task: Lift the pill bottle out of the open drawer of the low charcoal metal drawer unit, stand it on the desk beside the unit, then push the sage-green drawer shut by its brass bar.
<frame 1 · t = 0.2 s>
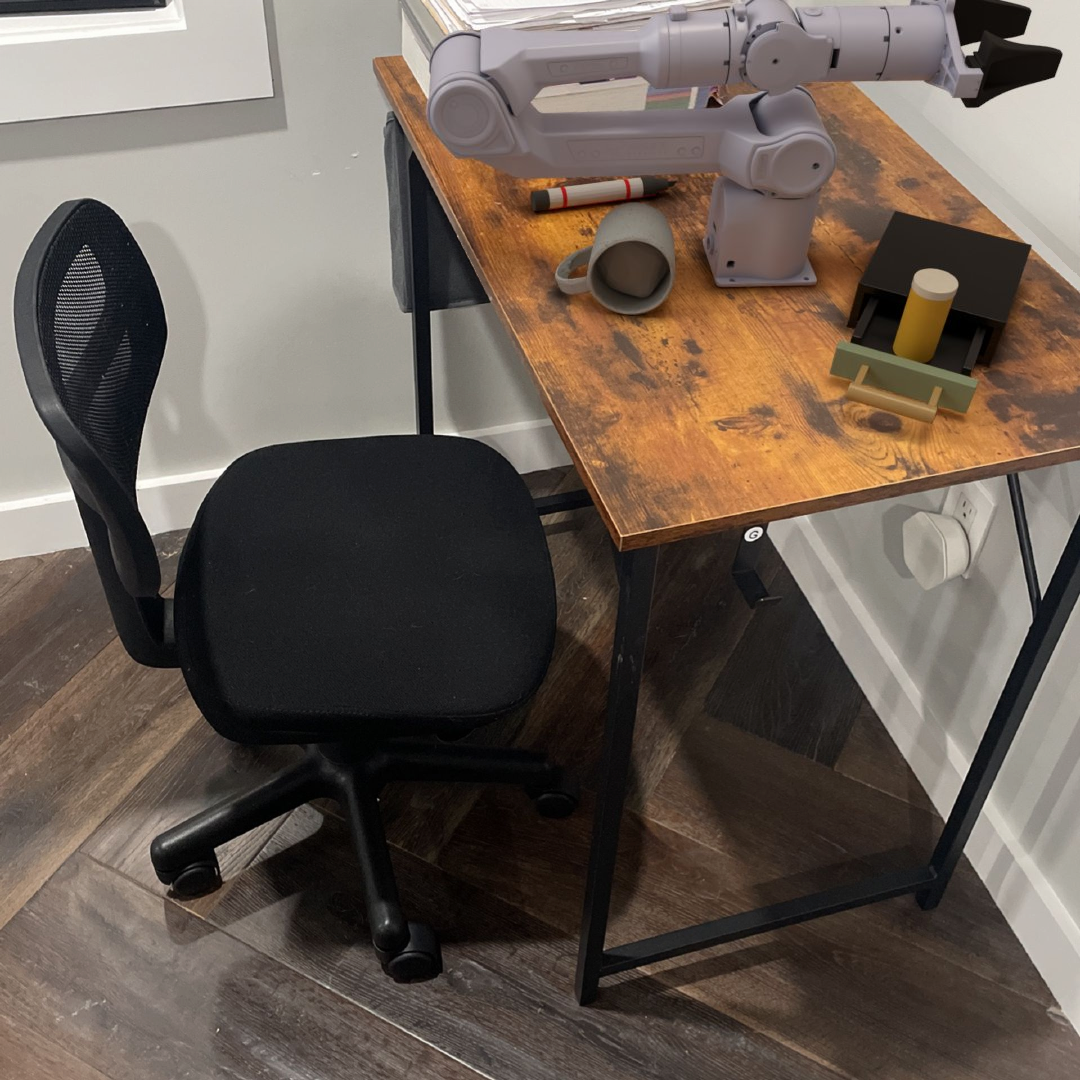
hand: (1041, 42, 94), 21 cm above the table, tool horizontal, fingers open, 7 cm apart
ceramic mug: (614, 293, 105), on the table
marker: (604, 202, 116), on the table
drawer: (912, 353, 95), point 2 cm above the table, slide at 7.5 cm, touching pill bottle
pill bottle: (913, 351, 96), point 2 cm above the table, touching drawer
cabinet: (933, 306, 104), on the table
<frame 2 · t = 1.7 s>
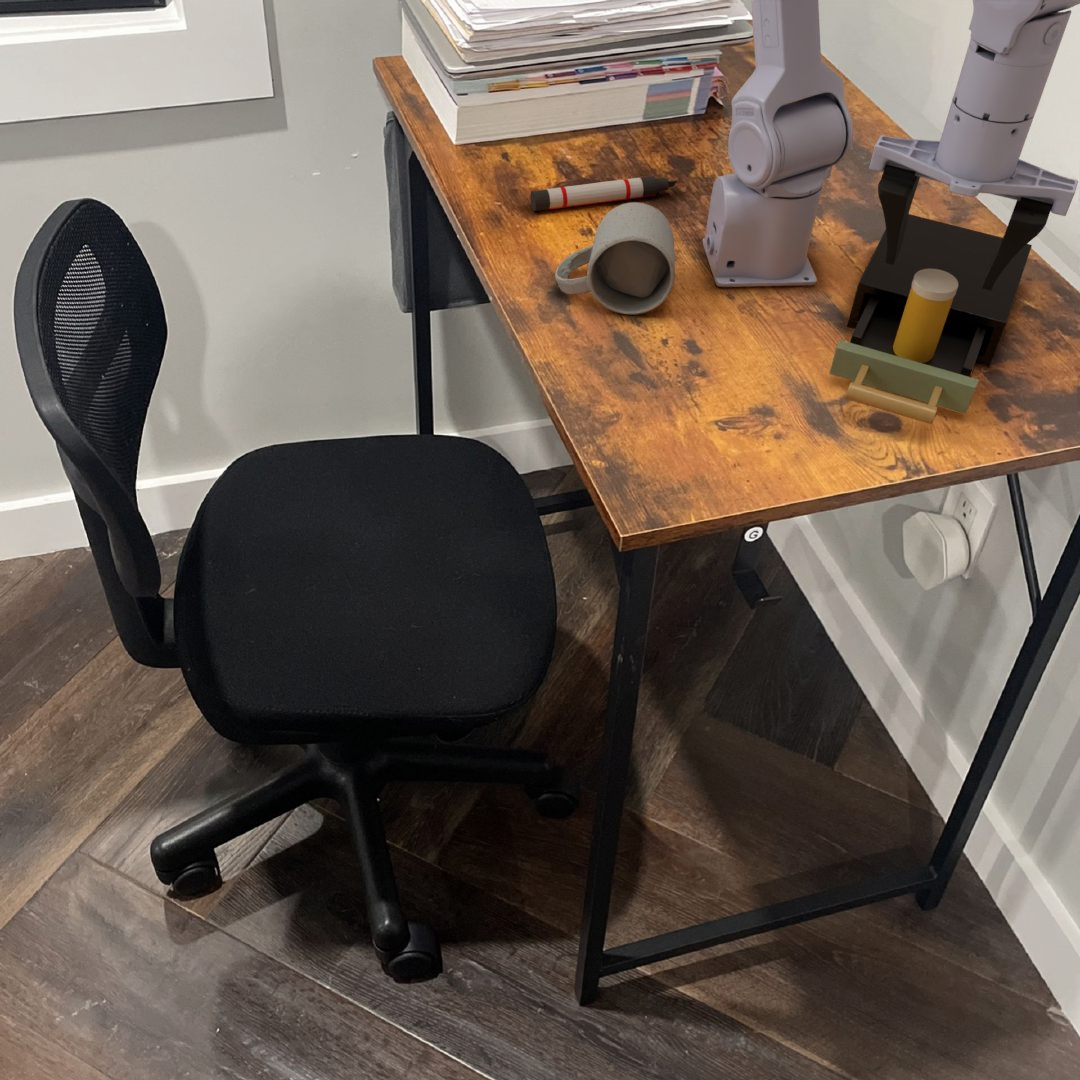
hand: (939, 270, 90), 10 cm above the table, tool pointing down, fingers open, 7 cm apart
nothing on the table moved.
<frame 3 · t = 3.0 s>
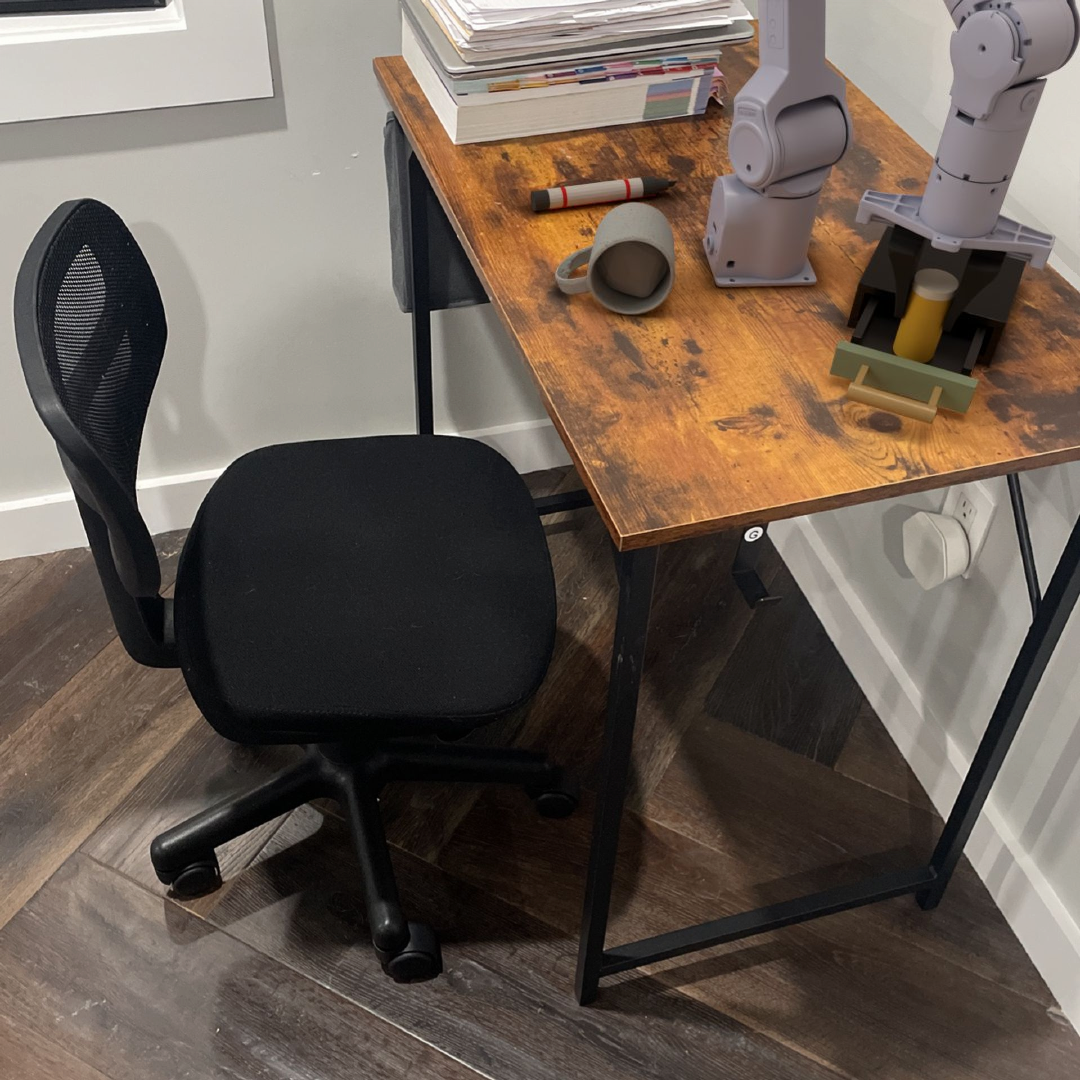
hand: (923, 317, 94), 5 cm above the table, tool pointing down, fingers closed on pill bottle, 3 cm apart
pill bottle: (913, 351, 96), point 2 cm above the table, touching drawer, gripper
everything else where it was.
when the fingers open (3 cm above the table, at t = 7.3 s): pill bottle stays where it is, on the table.
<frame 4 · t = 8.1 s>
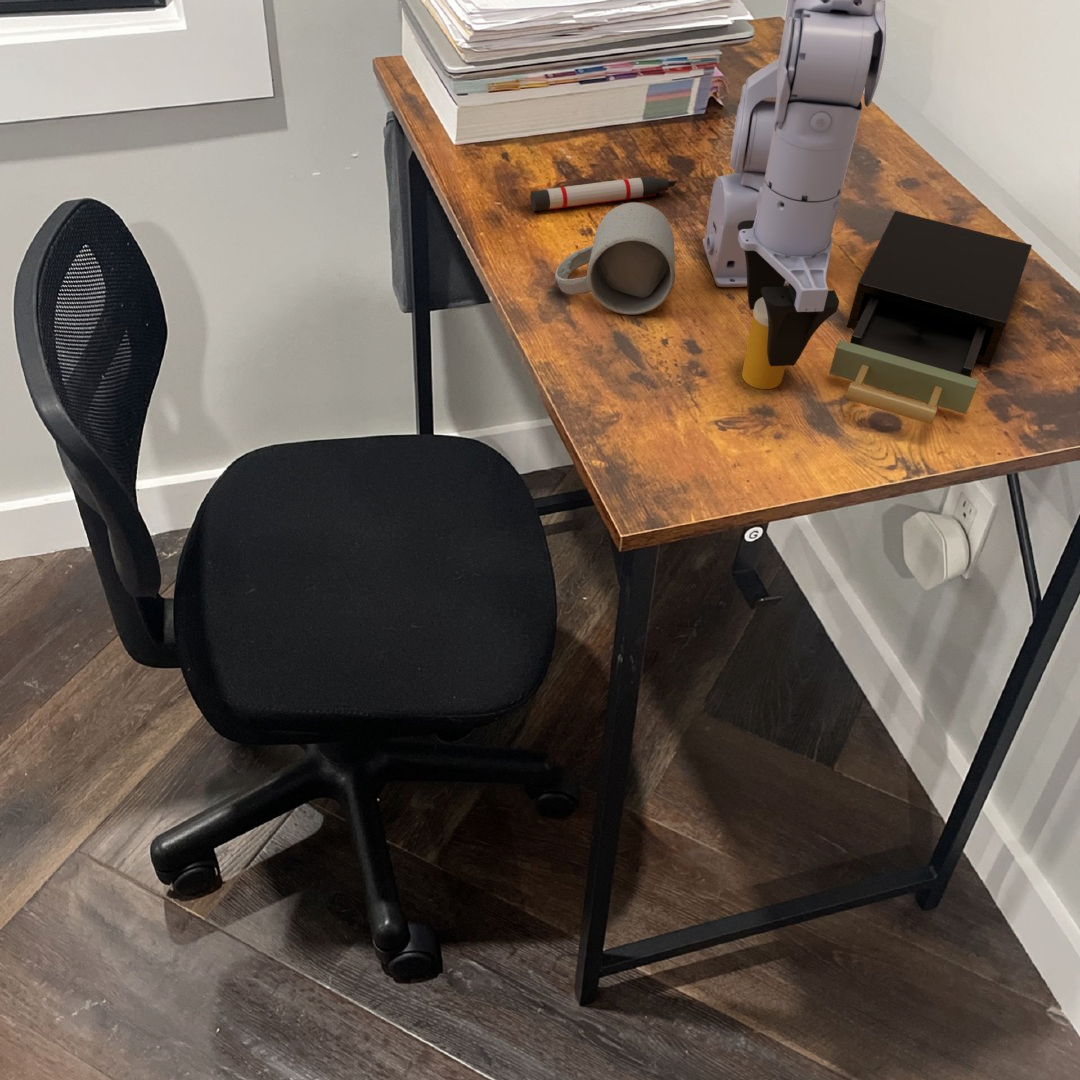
hand: (771, 334, 93), 4 cm above the table, tool pointing down, fingers open, 7 cm apart
drawer: (912, 353, 95), point 2 cm above the table, slide at 7.5 cm
pill bottle: (761, 376, 96), on the table
everything else where it was.
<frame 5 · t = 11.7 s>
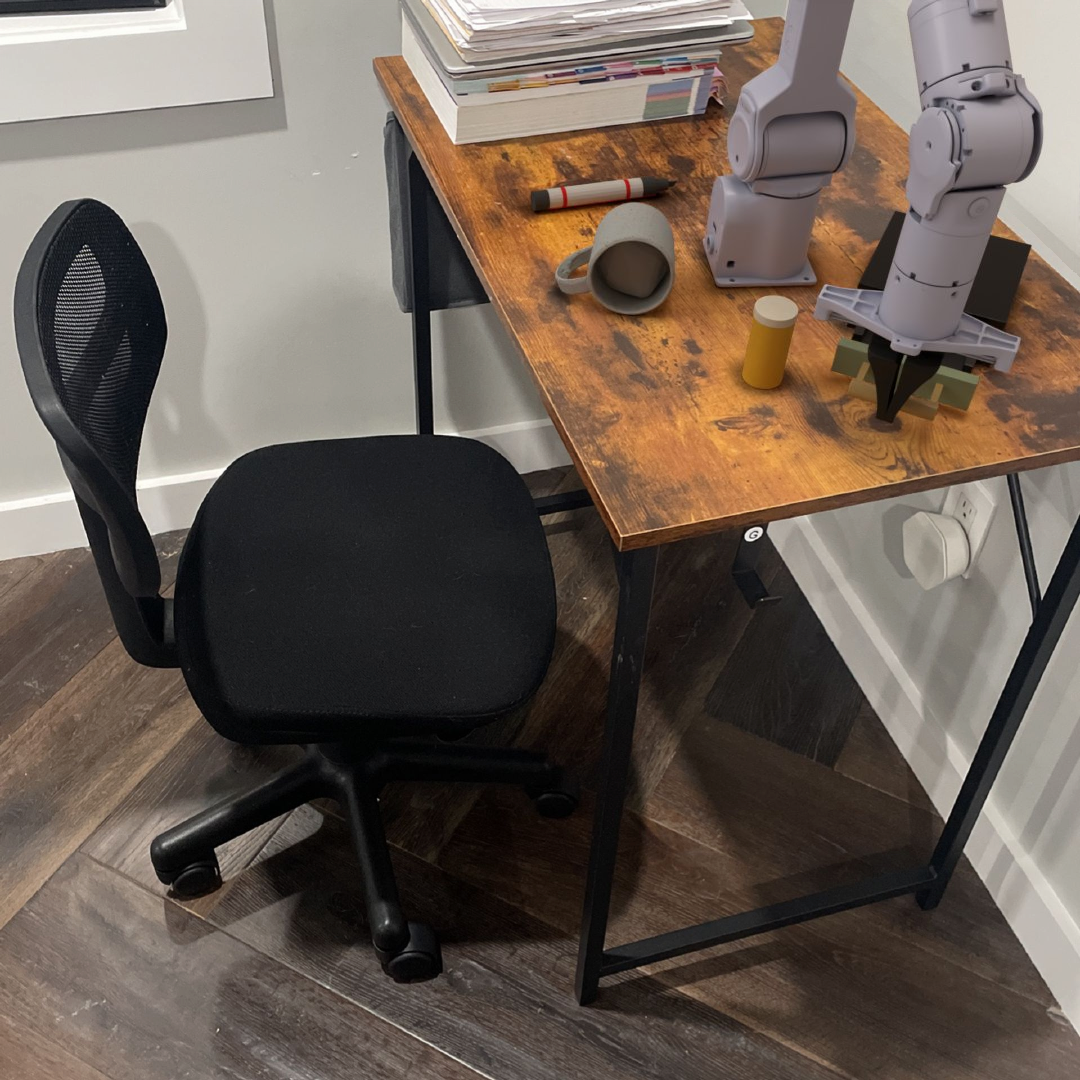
hand: (886, 414, 90), 2 cm above the table, tool pointing down, fingers closed
drawer: (913, 350, 96), point 2 cm above the table, slide at 7.0 cm
everything else where it was.
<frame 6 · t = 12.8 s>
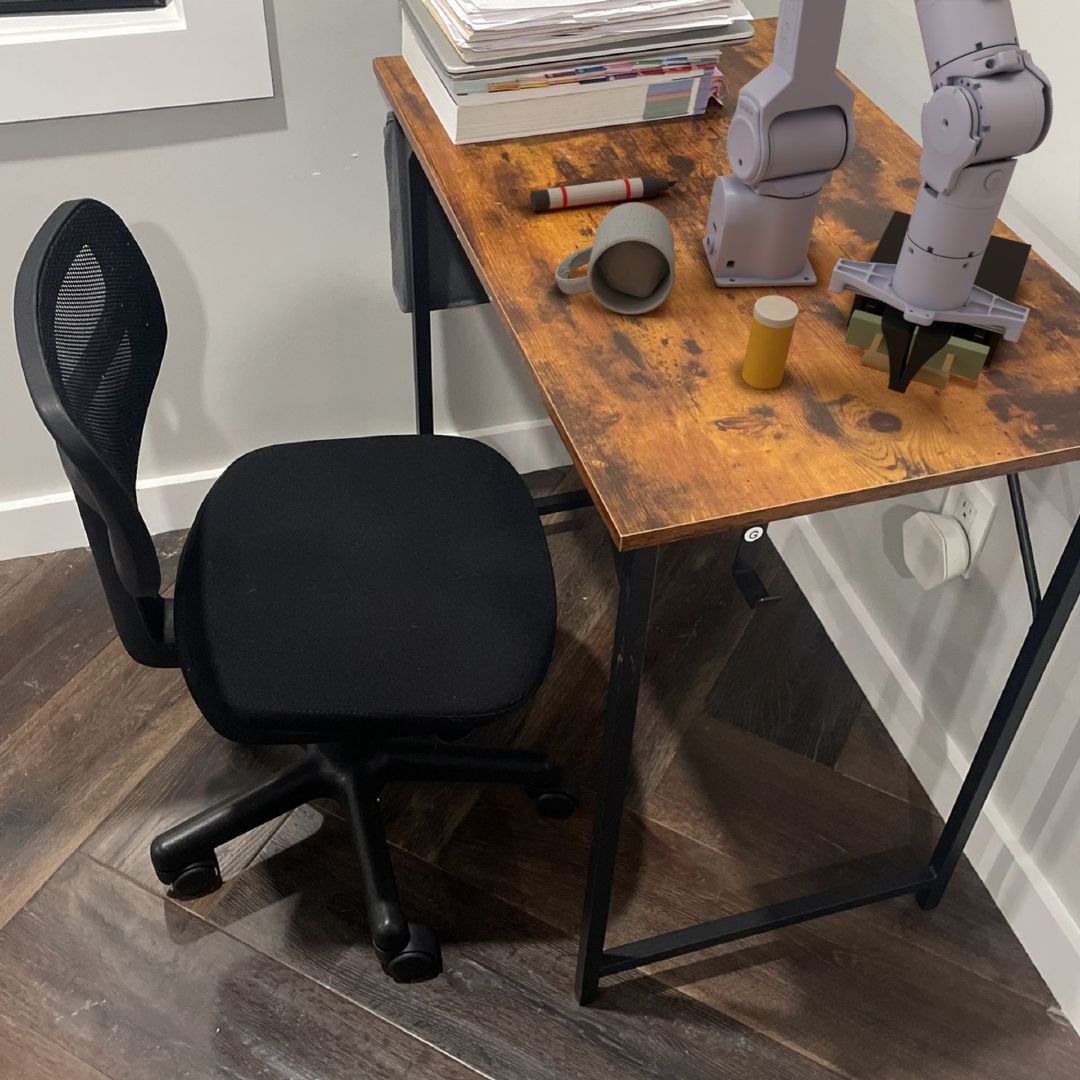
hand: (898, 384, 93), 2 cm above the table, tool pointing down, fingers closed, pressing on drawer
drawer: (924, 322, 98), point 2 cm above the table, slide at 2.6 cm, touching gripper
everything else where it was.
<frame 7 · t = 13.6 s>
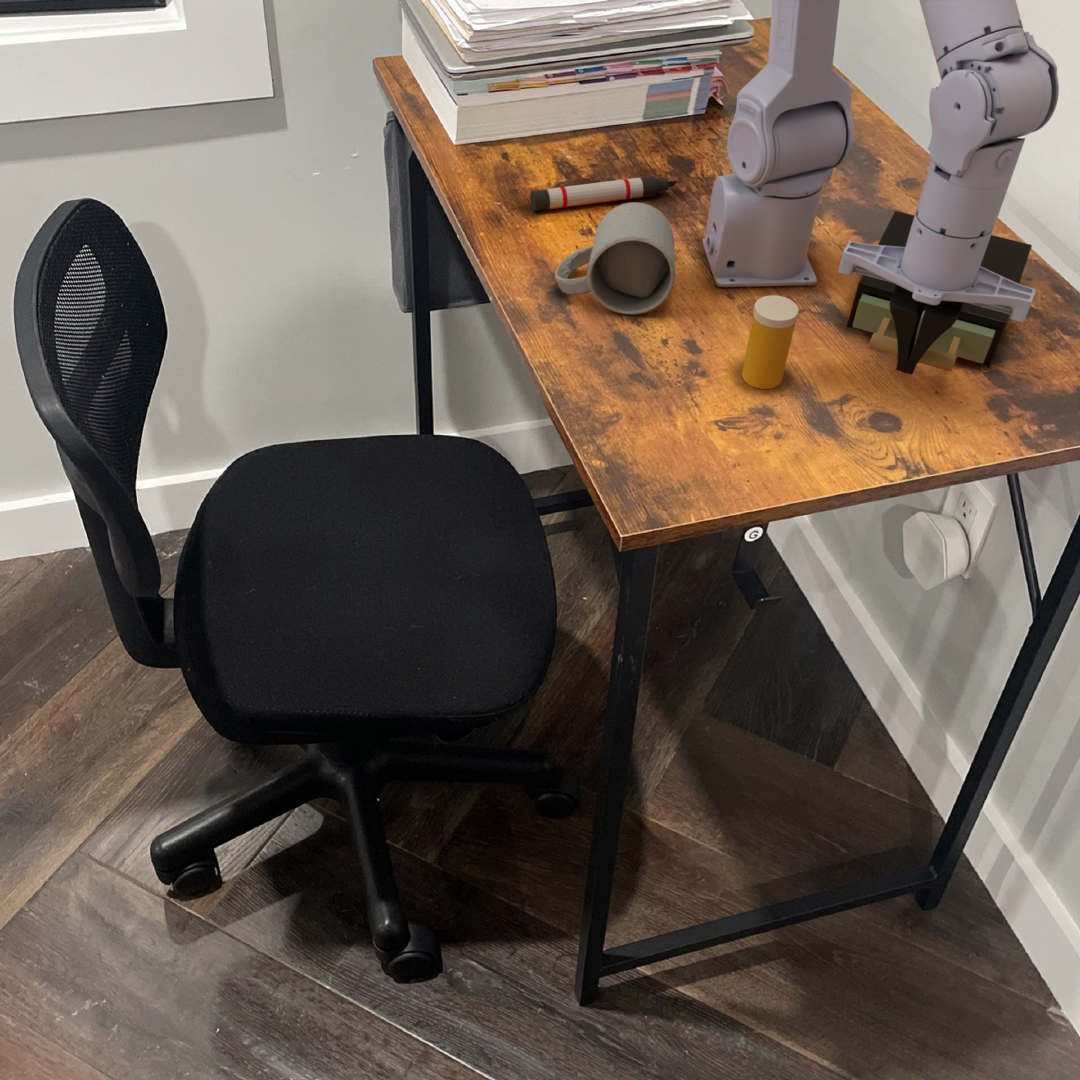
hand: (906, 366, 94), 2 cm above the table, tool pointing down, fingers closed, pressing on drawer
drawer: (931, 307, 100), point 2 cm above the table, slide at 0.0 cm, touching cabinet, gripper
everything else where it was.
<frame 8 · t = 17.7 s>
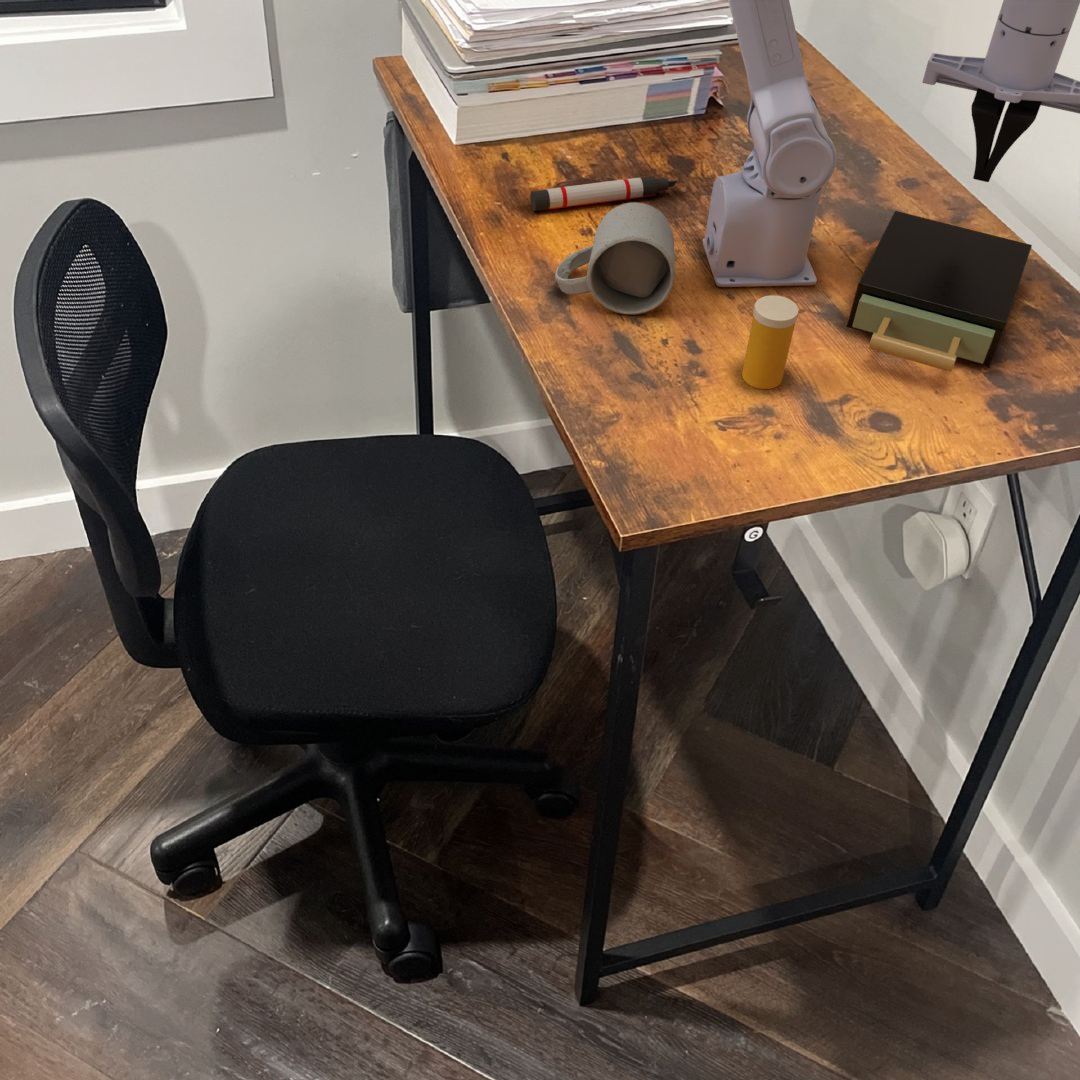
hand: (982, 175, 102), 9 cm above the table, tool pointing down, fingers closed
drawer: (931, 307, 100), point 2 cm above the table, slide at 0.0 cm, touching cabinet
everything else where it was.
at the end: pill bottle inside the target area (0.0 cm from its centre), on the table; pill bottle tilted 0°; drawer slide at 0.0 cm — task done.
